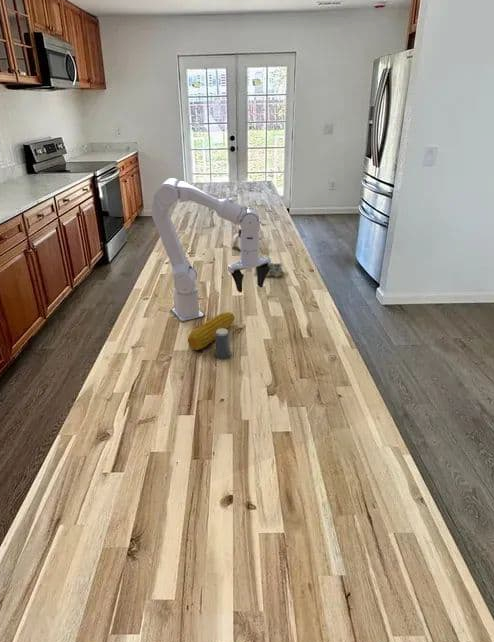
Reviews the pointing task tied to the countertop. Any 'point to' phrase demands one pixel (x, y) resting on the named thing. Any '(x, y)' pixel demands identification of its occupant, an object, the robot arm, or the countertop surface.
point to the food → (209, 330)
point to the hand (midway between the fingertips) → (249, 288)
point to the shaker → (222, 343)
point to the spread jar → (237, 239)
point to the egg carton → (274, 270)
